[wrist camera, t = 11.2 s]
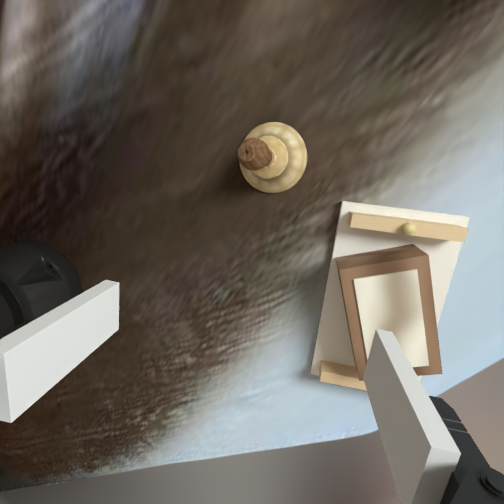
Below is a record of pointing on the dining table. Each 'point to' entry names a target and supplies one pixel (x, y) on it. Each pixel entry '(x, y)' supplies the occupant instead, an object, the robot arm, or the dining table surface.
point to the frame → (391, 304)
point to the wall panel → (371, 239)
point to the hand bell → (272, 157)
